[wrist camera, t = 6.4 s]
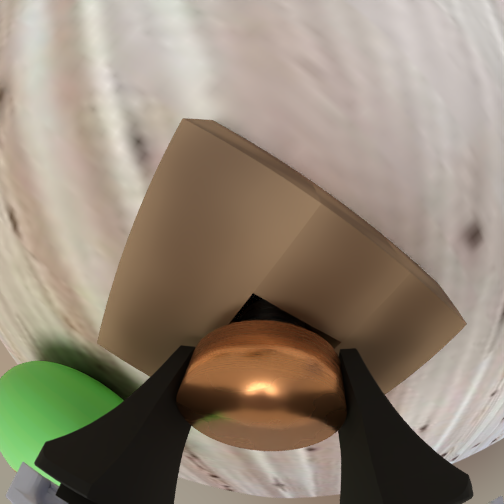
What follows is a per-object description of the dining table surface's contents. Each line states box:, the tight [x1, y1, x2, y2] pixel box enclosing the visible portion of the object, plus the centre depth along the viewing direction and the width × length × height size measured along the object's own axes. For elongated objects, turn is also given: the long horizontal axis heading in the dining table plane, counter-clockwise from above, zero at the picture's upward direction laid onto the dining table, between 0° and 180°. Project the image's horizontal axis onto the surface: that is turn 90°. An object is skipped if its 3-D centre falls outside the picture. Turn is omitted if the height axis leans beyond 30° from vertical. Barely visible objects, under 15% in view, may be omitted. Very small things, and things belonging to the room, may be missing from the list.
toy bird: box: [0, 361, 124, 486], centre depth 15 cm, size 18×17×15 cm
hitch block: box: [97, 118, 466, 395], centre depth 12 cm, size 14×12×4 cm
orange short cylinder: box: [176, 299, 347, 451], centre depth 10 cm, size 6×6×5 cm
